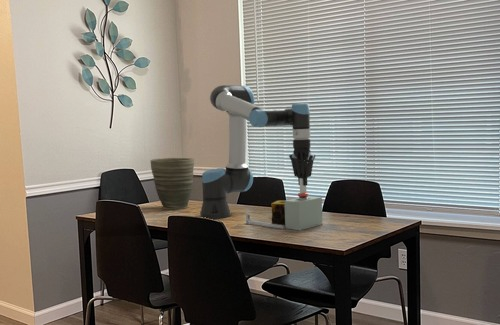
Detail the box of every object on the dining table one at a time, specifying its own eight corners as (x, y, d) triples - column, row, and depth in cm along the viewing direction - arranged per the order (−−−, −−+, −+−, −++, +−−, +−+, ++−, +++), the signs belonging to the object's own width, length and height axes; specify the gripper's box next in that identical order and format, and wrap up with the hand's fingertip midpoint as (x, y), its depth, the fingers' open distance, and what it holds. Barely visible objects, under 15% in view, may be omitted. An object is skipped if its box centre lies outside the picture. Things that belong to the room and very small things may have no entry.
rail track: (246, 223, 259) (245, 215, 259) (274, 217, 273) (273, 208, 273) (282, 228, 244) (282, 219, 243) (310, 221, 258) (310, 213, 257)
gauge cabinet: (283, 228, 246) (282, 200, 245) (306, 222, 257) (305, 196, 256) (299, 230, 239) (298, 202, 238) (322, 224, 251) (321, 197, 250)
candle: (292, 226, 249) (292, 203, 248) (271, 225, 253) (270, 203, 252) (299, 222, 258) (298, 200, 258) (278, 221, 262) (277, 200, 261)
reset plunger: (296, 211, 247) (296, 193, 247) (302, 210, 251) (302, 192, 250) (304, 212, 244) (303, 194, 244) (310, 211, 247) (310, 193, 247)
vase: (199, 210, 305) (190, 156, 299) (156, 217, 305) (146, 163, 299) (203, 198, 329) (194, 148, 323) (162, 204, 329) (153, 154, 323)
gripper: (284, 139, 247) (286, 193, 249) (308, 139, 238) (309, 194, 240) (295, 138, 252) (297, 190, 254) (318, 138, 243) (320, 192, 245)
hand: (303, 192), depth 247 cm, fingers closed
